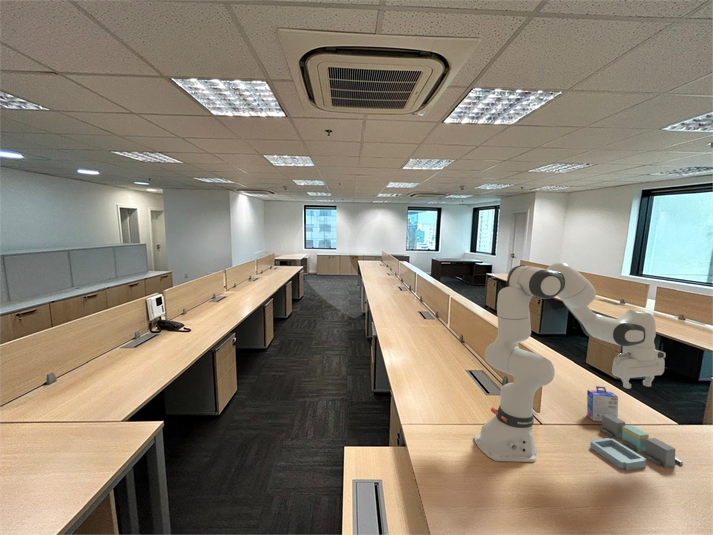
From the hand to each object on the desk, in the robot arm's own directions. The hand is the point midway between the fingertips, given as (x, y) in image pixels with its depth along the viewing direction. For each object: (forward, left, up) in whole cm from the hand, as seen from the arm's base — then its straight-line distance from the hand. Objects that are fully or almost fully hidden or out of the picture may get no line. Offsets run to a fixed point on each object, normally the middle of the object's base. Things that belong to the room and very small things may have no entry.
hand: (637, 386), depth 109 cm
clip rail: (0, 0, -24) cm, 24 cm away
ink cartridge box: (+6, +17, -24) cm, 30 cm away
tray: (-13, -4, -24) cm, 27 cm away
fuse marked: (0, 0, -24) cm, 24 cm away
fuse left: (0, +8, -24) cm, 25 cm away
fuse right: (0, -8, -24) cm, 25 cm away
